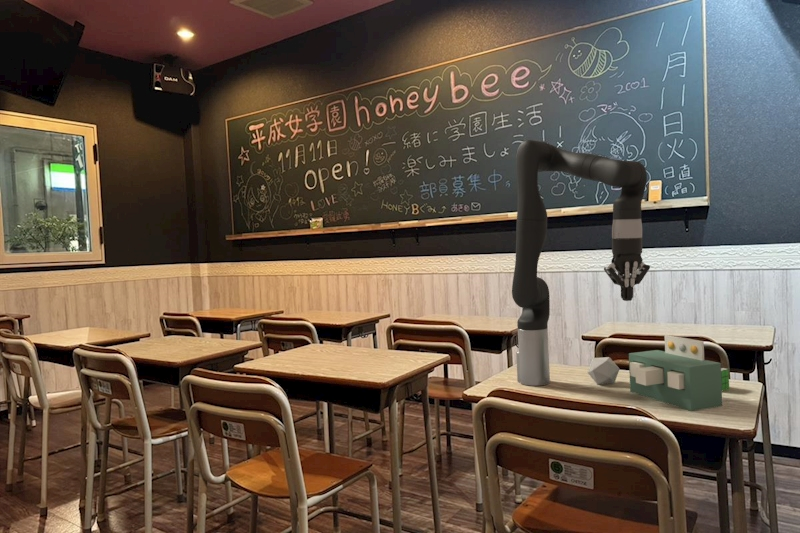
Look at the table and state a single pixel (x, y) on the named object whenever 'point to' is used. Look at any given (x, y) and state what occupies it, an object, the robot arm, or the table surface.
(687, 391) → the console
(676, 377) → the button right
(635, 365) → the button left
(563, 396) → the table surface
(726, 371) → the puzzle toy
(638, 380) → the button mid
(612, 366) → the die
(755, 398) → the table surface
